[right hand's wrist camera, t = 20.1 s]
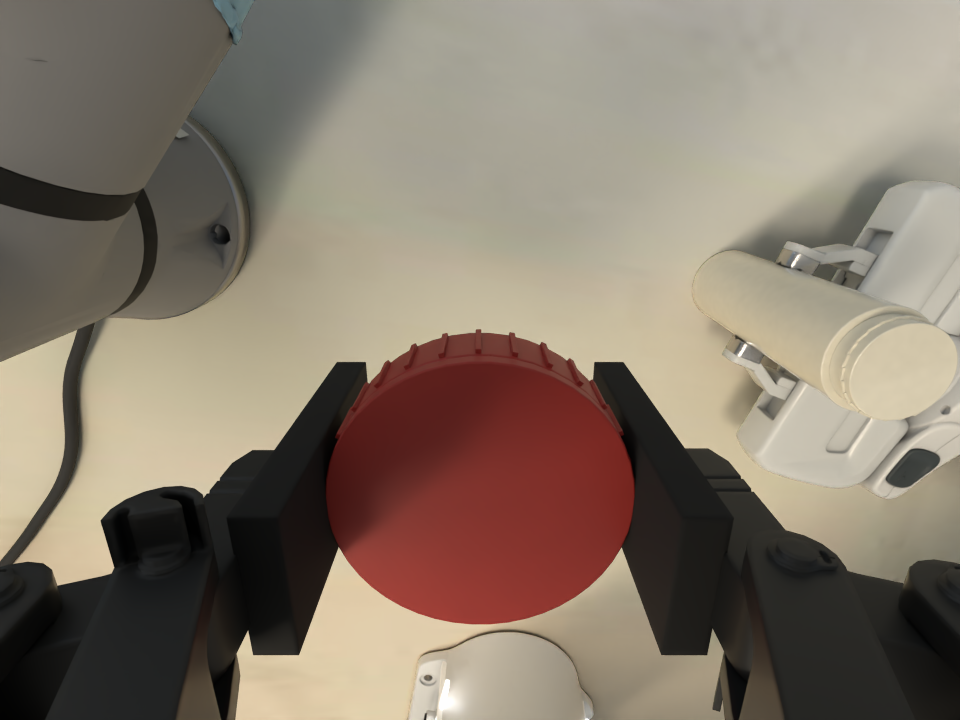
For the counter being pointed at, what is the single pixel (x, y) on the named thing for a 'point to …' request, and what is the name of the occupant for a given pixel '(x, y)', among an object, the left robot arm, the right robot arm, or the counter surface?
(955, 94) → the counter surface
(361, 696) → the counter surface
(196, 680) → the right robot arm
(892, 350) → the jar
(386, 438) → the lid
